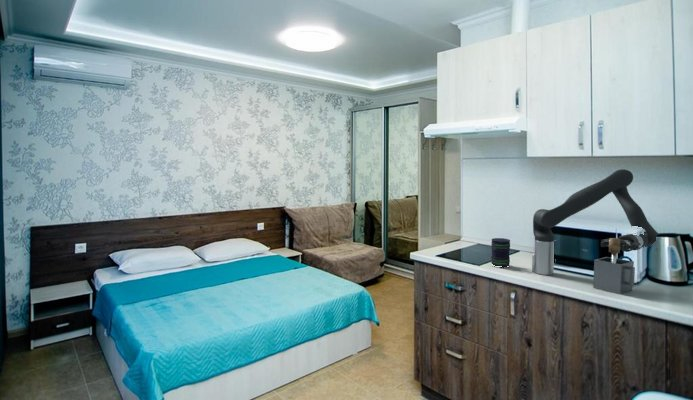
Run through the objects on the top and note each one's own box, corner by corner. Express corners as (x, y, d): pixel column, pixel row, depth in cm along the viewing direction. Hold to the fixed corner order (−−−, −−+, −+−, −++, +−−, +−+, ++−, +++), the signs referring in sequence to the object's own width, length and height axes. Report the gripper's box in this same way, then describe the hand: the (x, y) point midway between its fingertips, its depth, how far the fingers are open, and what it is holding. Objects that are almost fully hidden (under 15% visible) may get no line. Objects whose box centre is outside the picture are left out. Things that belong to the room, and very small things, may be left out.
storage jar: (497, 262, 228) (497, 237, 227) (513, 266, 220) (513, 239, 219) (487, 265, 222) (487, 239, 221) (503, 269, 214) (503, 241, 213)
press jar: (593, 287, 179) (594, 259, 178) (605, 284, 184) (606, 256, 183) (626, 295, 167) (627, 265, 166) (638, 291, 173) (640, 262, 172)
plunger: (597, 285, 178) (599, 238, 177) (607, 282, 183) (609, 236, 181) (618, 290, 171) (620, 241, 169) (628, 287, 175) (630, 239, 174)
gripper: (613, 232, 188) (595, 235, 180) (648, 236, 176) (630, 240, 168) (612, 247, 189) (595, 251, 181) (647, 253, 177) (630, 257, 169)
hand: (612, 246), depth 174 cm, fingers open, 8 cm apart
